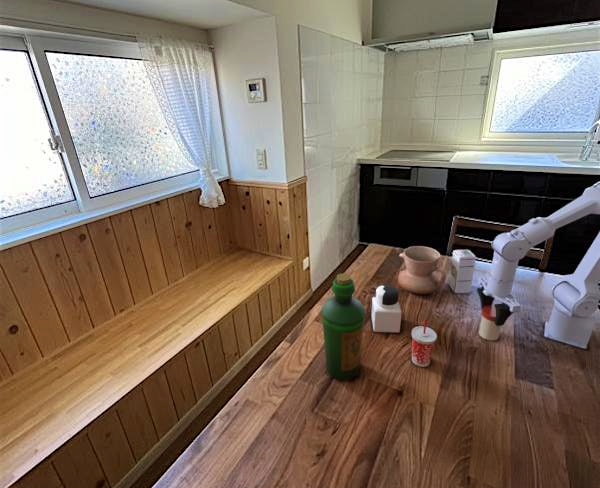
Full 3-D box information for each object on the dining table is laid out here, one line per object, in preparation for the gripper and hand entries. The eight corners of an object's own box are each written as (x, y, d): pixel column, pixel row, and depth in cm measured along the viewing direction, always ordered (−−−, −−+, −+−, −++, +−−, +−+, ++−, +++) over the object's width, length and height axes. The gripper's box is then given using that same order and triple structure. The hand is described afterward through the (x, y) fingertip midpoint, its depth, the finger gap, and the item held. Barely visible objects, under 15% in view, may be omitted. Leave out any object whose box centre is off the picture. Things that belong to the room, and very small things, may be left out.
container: (395, 317, 108) (398, 282, 102) (399, 333, 101) (403, 296, 95) (371, 316, 108) (372, 282, 103) (373, 332, 101) (375, 296, 96)
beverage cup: (412, 369, 88) (417, 325, 82) (406, 352, 93) (410, 310, 87) (436, 368, 87) (442, 325, 82) (428, 352, 93) (434, 310, 87)
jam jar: (499, 332, 99) (504, 311, 96) (497, 342, 95) (503, 321, 92) (479, 326, 102) (484, 305, 98) (477, 336, 98) (481, 315, 95)
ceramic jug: (386, 285, 125) (388, 251, 119) (409, 272, 133) (413, 240, 127) (430, 307, 112) (435, 269, 106) (453, 290, 120) (458, 255, 114)
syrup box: (470, 293, 118) (477, 256, 112) (453, 293, 118) (459, 256, 112) (463, 284, 123) (470, 249, 117) (447, 285, 123) (452, 249, 118)
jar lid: (477, 310, 98) (478, 306, 97) (496, 308, 98) (497, 304, 98) (488, 322, 93) (489, 318, 92) (508, 321, 93) (510, 316, 92)
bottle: (362, 387, 83) (366, 291, 72) (319, 381, 85) (317, 287, 74) (363, 356, 93) (367, 267, 81) (325, 352, 95) (323, 264, 83)
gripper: (471, 265, 97) (464, 304, 102) (506, 292, 83) (495, 336, 89) (494, 263, 97) (486, 302, 103) (532, 289, 84) (520, 333, 90)
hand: (492, 317), depth 96 cm, fingers closed on jar lid, 5 cm apart
